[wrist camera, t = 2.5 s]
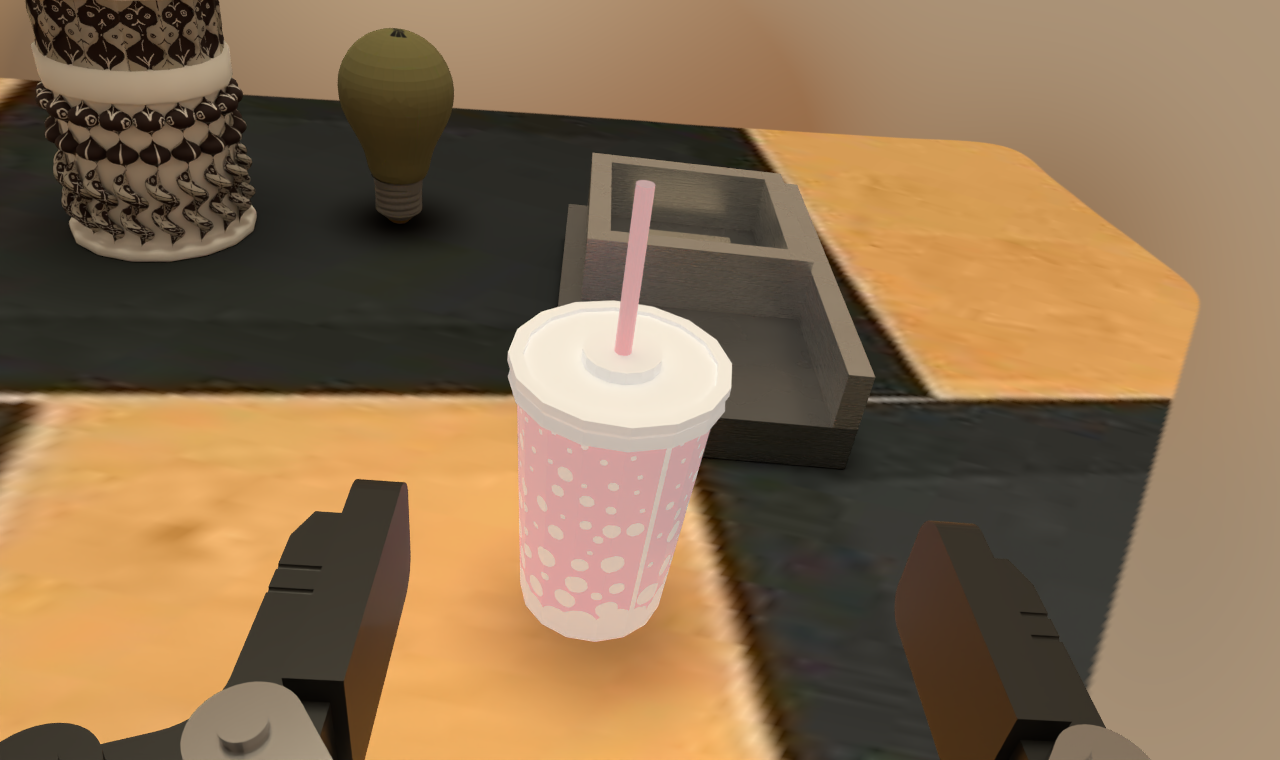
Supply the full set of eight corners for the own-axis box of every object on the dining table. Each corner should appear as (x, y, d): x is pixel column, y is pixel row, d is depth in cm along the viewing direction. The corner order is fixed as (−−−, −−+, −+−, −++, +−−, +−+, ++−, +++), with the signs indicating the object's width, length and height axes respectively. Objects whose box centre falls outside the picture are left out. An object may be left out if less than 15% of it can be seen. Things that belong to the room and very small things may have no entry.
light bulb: (472, 230, 49) (476, 41, 44) (378, 253, 46) (369, 51, 40) (419, 191, 52) (416, 11, 47) (327, 210, 49) (312, 18, 43)
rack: (544, 443, 35) (553, 335, 32) (566, 237, 50) (573, 150, 47) (844, 469, 36) (878, 366, 33) (779, 259, 51) (798, 176, 48)
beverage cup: (630, 501, 33) (690, 130, 25) (718, 625, 29) (824, 226, 21) (469, 545, 30) (479, 144, 22) (541, 689, 26) (584, 257, 18)
